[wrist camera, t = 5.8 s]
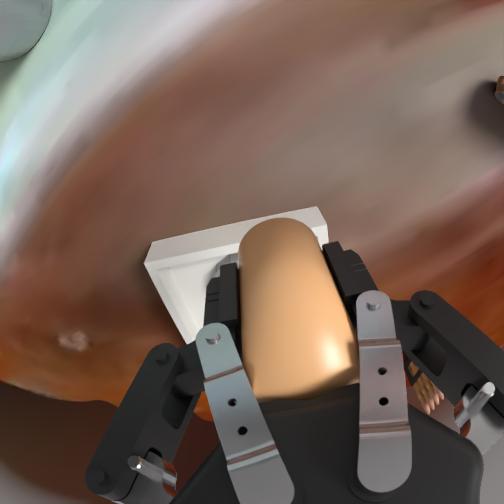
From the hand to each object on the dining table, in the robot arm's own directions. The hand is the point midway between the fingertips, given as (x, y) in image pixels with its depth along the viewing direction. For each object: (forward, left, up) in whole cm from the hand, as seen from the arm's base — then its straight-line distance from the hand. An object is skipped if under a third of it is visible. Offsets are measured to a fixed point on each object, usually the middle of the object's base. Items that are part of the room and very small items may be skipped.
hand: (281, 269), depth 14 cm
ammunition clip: (+22, -38, -17) cm, 47 cm away
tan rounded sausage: (0, 0, -1) cm, 1 cm away
